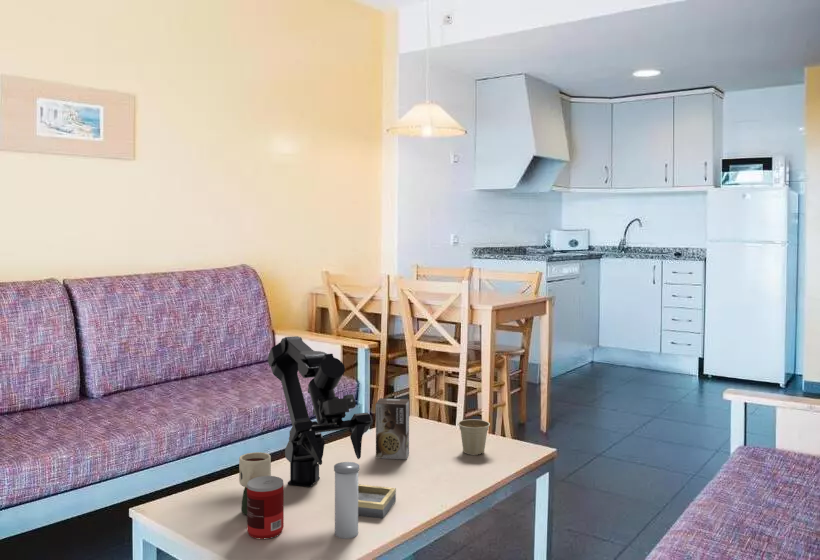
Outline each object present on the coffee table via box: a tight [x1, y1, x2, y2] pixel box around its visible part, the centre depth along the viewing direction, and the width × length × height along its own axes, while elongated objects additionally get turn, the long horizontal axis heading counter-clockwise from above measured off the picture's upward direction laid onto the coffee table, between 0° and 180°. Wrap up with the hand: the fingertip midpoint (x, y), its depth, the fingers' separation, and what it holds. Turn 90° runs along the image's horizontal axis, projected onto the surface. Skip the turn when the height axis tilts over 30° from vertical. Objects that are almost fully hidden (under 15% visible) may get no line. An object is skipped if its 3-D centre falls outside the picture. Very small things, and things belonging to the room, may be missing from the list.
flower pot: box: [457, 418, 491, 456], centre depth 207 cm, size 9×9×9 cm
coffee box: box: [375, 397, 410, 460], centre depth 203 cm, size 9×6×16 cm
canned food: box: [246, 475, 285, 540], centre depth 151 cm, size 8×8×11 cm
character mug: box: [238, 451, 272, 515], centre depth 161 cm, size 11×7×13 cm, turn 178°
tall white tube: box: [333, 461, 360, 540], centre depth 151 cm, size 5×5×15 cm
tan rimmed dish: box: [358, 483, 397, 519], centre depth 165 cm, size 10×10×3 cm
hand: (340, 461), depth 158 cm, fingers open, 9 cm apart
